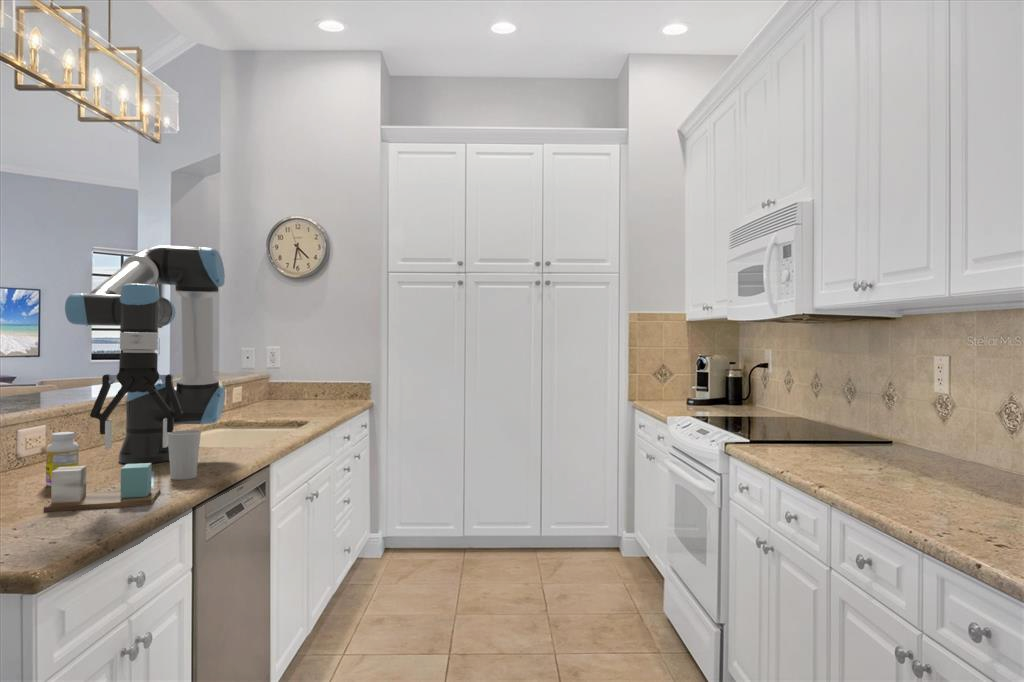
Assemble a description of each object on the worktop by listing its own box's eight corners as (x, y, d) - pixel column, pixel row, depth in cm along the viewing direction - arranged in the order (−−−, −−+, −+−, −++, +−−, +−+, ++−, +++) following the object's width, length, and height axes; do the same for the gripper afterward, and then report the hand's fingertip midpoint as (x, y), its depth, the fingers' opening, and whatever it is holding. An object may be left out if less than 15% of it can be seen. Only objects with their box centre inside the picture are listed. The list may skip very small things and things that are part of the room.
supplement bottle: (50, 482, 159) (50, 431, 159) (81, 480, 162) (82, 430, 162) (42, 488, 153) (43, 435, 153) (74, 486, 156) (75, 434, 156)
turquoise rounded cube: (125, 492, 145) (126, 464, 145) (151, 491, 147) (151, 462, 147) (120, 498, 141) (121, 468, 141) (146, 496, 142) (147, 467, 142)
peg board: (61, 498, 144) (61, 464, 144) (160, 492, 151) (160, 459, 151) (43, 511, 133) (44, 475, 133) (151, 504, 140) (152, 469, 140)
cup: (186, 481, 163) (186, 434, 163) (159, 479, 165) (160, 433, 165) (206, 474, 171) (207, 430, 171) (181, 473, 173) (182, 429, 173)
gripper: (74, 351, 136) (72, 452, 136) (193, 352, 145) (191, 448, 145) (83, 350, 143) (82, 447, 143) (197, 351, 152) (195, 442, 152)
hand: (137, 447), depth 144 cm, fingers open, 11 cm apart
